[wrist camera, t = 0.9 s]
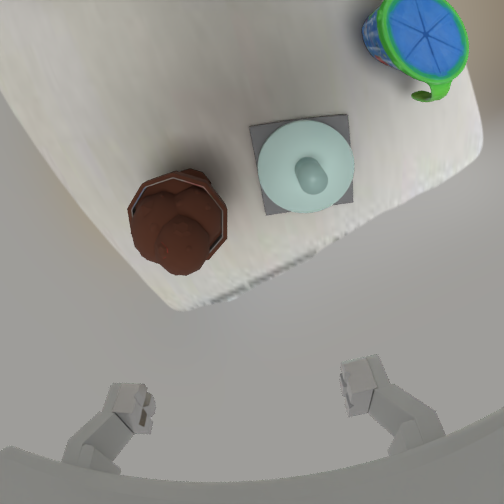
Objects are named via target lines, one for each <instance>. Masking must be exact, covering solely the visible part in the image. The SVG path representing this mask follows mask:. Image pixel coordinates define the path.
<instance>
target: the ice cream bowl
mask: <svg viewBox="0 0 504 504" xmlns="http://www.w3.org/2000/svg"><path fill="white" fill-rule="evenodd" d="M127 210H128V216H129V222H130V228H131V234H132V237H133V241H134V245H135V247H136V248H137V250H138V251H139V252H140V254H141V256H142V257H144V258H146V259H147V260H149V261H152V262H155V263H158V264H160V265H161V266H162V267H163V268H165V269H166V270H167V271H168V272H169V273H171V274H174V275H185V276H187V275H189V274H191V273H193V272H195V271H197V270H199V269H200V268H201V267H202V265H203V264H204V262H205V260H209V259H210V258H211V257H212V255H213V254H214V253H215V252H216V251H217V250H218V249H219V247H220V246H221V245H222V244H223V243H224V242H225V240H226V239H227V207H226V204H225V203H224V202H223V200H222V199H221V198H220V196H219V195H218V194H217V193H216V191H215V190H214V189H213V188H212V186H211V182H210V181H209V180H208V178H207V177H206V176H205V175H204V173H203V172H200V171H197V170H193V169H187V170H184V171H181V172H178V171H174V172H171V173H168V174H165V175H162V176H159V177H156V178H153V179H151V180H148V181H146V182H144V183H142V185H141V186H140V188H139V190H138V191H137V193H136V195H135V196H134V198H133V200H132V201H131V203H130V205H129V207H128V208H127Z"/></svg>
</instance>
